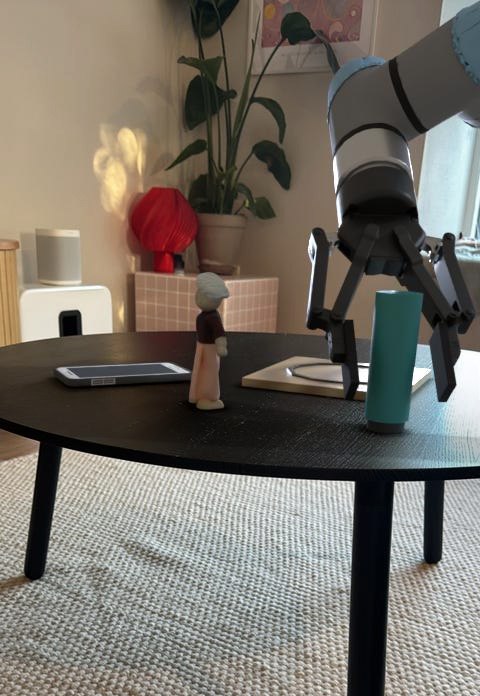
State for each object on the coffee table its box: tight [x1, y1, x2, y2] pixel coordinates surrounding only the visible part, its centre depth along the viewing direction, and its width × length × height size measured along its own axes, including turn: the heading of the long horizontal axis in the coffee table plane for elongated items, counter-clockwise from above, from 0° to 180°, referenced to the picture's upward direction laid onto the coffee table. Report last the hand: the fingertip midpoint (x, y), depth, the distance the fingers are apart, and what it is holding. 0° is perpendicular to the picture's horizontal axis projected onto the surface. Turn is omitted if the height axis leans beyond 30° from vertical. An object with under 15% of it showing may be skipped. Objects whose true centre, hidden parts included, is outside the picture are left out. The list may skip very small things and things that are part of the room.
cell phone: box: [53, 361, 193, 388], centre depth 86 cm, size 8×15×1 cm, turn 116°
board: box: [241, 355, 432, 402], centre depth 89 cm, size 18×18×1 cm
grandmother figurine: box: [188, 271, 231, 411], centre depth 73 cm, size 8×4×13 cm, turn 30°
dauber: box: [363, 289, 423, 435], centre depth 67 cm, size 4×4×12 cm
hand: (399, 392), depth 64 cm, fingers open, 8 cm apart
